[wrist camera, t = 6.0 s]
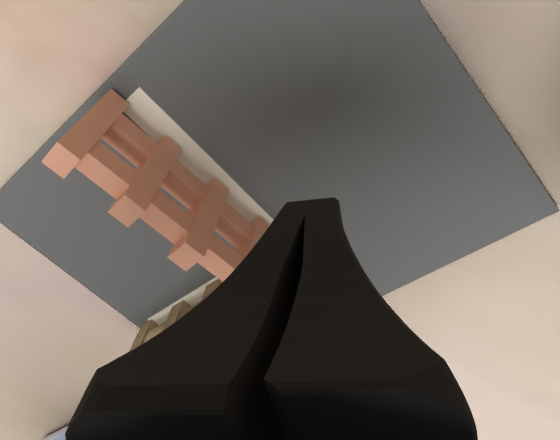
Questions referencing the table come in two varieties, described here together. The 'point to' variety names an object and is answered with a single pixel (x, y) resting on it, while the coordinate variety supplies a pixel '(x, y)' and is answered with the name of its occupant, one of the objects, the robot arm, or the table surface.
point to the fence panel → (156, 188)
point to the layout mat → (292, 145)
